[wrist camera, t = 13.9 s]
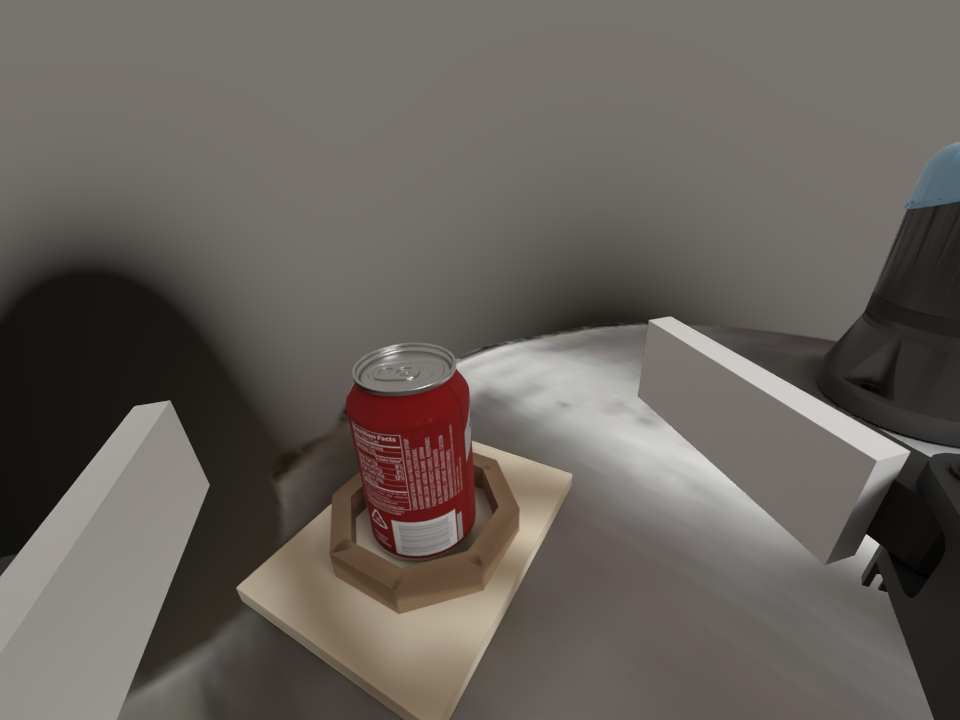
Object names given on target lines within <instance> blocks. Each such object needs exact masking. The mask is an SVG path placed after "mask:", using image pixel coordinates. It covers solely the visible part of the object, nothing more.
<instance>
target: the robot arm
mask: <svg viewBox="0 0 960 720" xmlns="http://www.w3.org/2000/svg"><path fill="white" fill-rule="evenodd" d="M903 208H905V209H907V210H906V213H905V215H904V217H903V220H902V222H901V225H900V227H899V229H898V232H897V234H896V237H895V239H894V241H893V244H892V246H891V249H890V251H889V253H888V256H887V258H886V261H885V263H884V265H883V268H882V270H881V273H880V275H879V278H878V280H877V282H876V285H875V287H874V290H873V293H872V295H871V298H870V300H869V302H868V305H867V307H866V309H865V311H864V313H863V314H862V315H861V316H860V317H859V318H858V319H857V321H856V322H855V323H854V324H853V325H852V326H851V327H850V328H849V329H848V331H847V332H846V333H845V334H844V335H843V336H842V337H841V338H840V339H839V341H838V342H837V343H836V344H835V345H834V346H833V347H832V348H831V349H830V351H829V352H828V353H827V354H826V355H825V357H824V358H823V360H822V363H821V365H820V368H819V371H818V373H817V376H816V382H817V385H818V386H819V388H820V389H821V391H822V392H823V393H824V394H825V395H826V396H827V397H828V398H829V399H831V400H832V401H833V402H835V403H836V404H838V405H839V406H841V407H842V408H844V409H846V410H847V411H849V412H851V413H853V414H855V415H857V416H859V417H861V418H863V419H865V420H867V421H869V422H872V423H874V424H876V425H879V426H882V427H884V428H887V429H890V430H892V431H895V432H898V433H901V434H905V435H908V436H911V437H915V438H918V439H922V440H926V441H930V442H935V443H939V444H944V445H950V446H956V447H960V142H957V143H954V144H951V145H949V146H947V147H945V148H943V149H941V150H940V151H938V152H937V153H936V154H934V155H933V156H932V157H931V158H930V159H929V161H928V162H927V164H926V165H925V167H924V169H923V171H922V174H921V176H920V178H919V180H918V182H917V184H916V186H915V188H914V191H913V193H912V195H911V197H910V199H908V200H907V201H906V202H905V204H904V207H903ZM638 397H639V398H640V399H642V400H643V401H644V402H645V403H646V404H647V405H648V406H649V407H650V408H652V409H653V410H654V411H655V412H656V413H657V414H658V415H659V416H660V417H662V418H663V419H664V420H665V421H666V422H667V423H668V424H669V425H670V426H672V427H673V428H674V429H675V430H676V431H677V432H678V433H679V434H680V435H681V436H683V437H684V438H685V439H686V440H687V441H688V442H689V443H690V444H691V445H693V446H694V447H695V448H696V449H697V450H698V451H699V452H700V453H701V454H703V455H704V456H705V457H706V458H707V459H708V460H709V461H710V462H711V463H713V464H714V465H715V466H716V467H717V468H718V469H719V470H720V471H721V472H723V473H724V474H725V475H726V476H727V477H728V478H729V479H730V480H731V481H733V482H734V483H735V484H736V485H737V486H738V487H739V488H740V489H741V490H742V491H744V492H745V493H746V494H747V495H748V496H749V497H750V498H751V499H752V500H754V501H755V502H756V503H757V504H758V505H759V506H760V507H761V508H762V509H764V510H765V511H766V512H767V513H768V514H769V515H770V516H771V517H772V518H774V519H775V520H776V521H777V522H778V523H779V524H780V525H781V526H782V527H784V528H785V529H786V530H787V531H788V532H789V533H790V534H791V535H792V536H794V537H795V538H796V539H797V540H798V541H799V542H800V543H801V544H802V545H803V546H805V547H806V548H807V549H808V550H809V551H810V552H811V553H812V554H813V555H815V556H816V557H817V558H818V559H819V560H820V561H821V562H822V563H823V564H825V565H826V564H829V563H832V562H835V561H838V560H841V559H844V558H847V557H851V556H854V555H855V553H856V552H857V550H858V548H859V546H860V544H861V542H862V540H863V539H864V537H865V535H866V534H867V535H869V536H870V537H871V538H872V539H874V540H875V541H876V542H878V543H879V544H880V545H879V547H878V549H877V550H876V552H875V554H874V556H873V557H872V559H871V561H870V563H869V564H868V566H867V568H866V570H865V571H864V573H863V575H862V585H864V586H867V587H869V586H870V584H871V582H872V581H873V579H874V577H875V576H876V574H881V576H882V578H883V581H882V582H881V584H880V586H879V588H878V589H879V590H881V591H884V592H888V595H889V598H890V600H891V603H892V606H893V608H894V611H895V614H896V617H897V619H898V622H899V625H900V628H901V630H902V633H903V636H904V638H905V641H906V644H907V647H908V649H909V652H910V655H911V658H912V660H913V663H914V666H915V668H916V671H917V674H918V677H919V679H920V682H921V685H922V688H923V690H924V693H925V696H926V699H927V701H928V704H929V707H930V709H931V712H932V715H933V718H934V720H960V454H952V453H941V454H935V455H933V456H932V457H929V456H927V455H925V454H923V453H921V452H919V451H918V450H916V449H914V448H912V447H910V446H909V445H907V444H905V443H903V442H901V441H900V440H898V439H896V438H894V437H892V436H891V435H889V434H887V433H885V432H883V431H881V430H880V429H878V428H876V427H874V426H872V425H871V424H869V423H867V422H865V421H863V420H862V419H860V418H858V417H856V418H854V417H853V414H851V413H849V412H847V411H845V410H844V409H842V408H840V407H837V408H836V407H835V404H833V403H831V402H829V401H827V400H826V399H824V398H822V397H820V396H818V395H817V394H815V393H813V392H810V391H807V390H804V389H801V388H799V387H796V386H793V385H791V384H790V383H788V382H786V381H784V380H783V379H781V378H779V377H777V376H775V375H774V374H772V373H770V372H768V371H767V370H765V369H763V368H761V367H760V366H758V365H756V364H754V363H752V362H751V361H749V360H747V359H745V358H744V357H742V356H740V355H738V354H736V353H735V352H733V351H731V350H729V349H728V348H726V347H724V346H722V345H720V344H719V343H717V342H715V341H713V340H712V339H710V338H708V337H706V336H704V335H703V334H701V333H699V332H697V331H696V330H694V329H692V328H690V327H688V326H687V325H685V324H683V323H681V322H679V321H678V320H676V319H674V318H672V317H666V318H660V319H654V320H649V323H648V330H647V337H646V344H645V351H644V358H643V364H642V371H641V378H640V385H639V392H638ZM208 488H209V483H208V481H207V478H206V476H205V474H204V472H203V470H202V468H201V466H200V464H199V461H198V459H197V457H196V455H195V453H194V451H193V448H192V446H191V444H190V442H189V440H188V438H187V436H186V434H185V432H184V429H183V427H182V425H181V423H180V421H179V419H178V416H177V414H176V412H175V410H174V408H173V406H172V404H171V402H170V401H164V402H159V403H152V404H147V405H140V406H135V407H134V408H133V409H132V410H131V411H130V413H129V414H128V415H127V417H126V418H125V419H124V420H123V422H122V423H121V424H120V425H119V427H118V428H117V429H116V431H115V432H114V433H113V434H112V436H111V437H110V438H109V439H108V441H107V442H106V443H105V444H104V446H103V447H102V448H101V449H100V451H99V452H98V453H97V455H96V456H95V457H94V458H93V460H92V461H91V462H90V464H89V465H88V466H87V467H86V468H85V470H84V471H83V472H82V474H81V475H80V476H79V477H78V479H77V480H76V482H74V484H73V485H72V486H71V488H70V489H69V490H68V491H67V493H66V494H65V495H64V496H63V498H62V499H61V500H60V502H59V503H58V504H57V505H56V507H55V508H54V509H53V511H52V512H51V513H50V514H49V516H48V517H47V518H46V519H45V521H44V522H43V523H42V524H41V526H40V527H39V528H38V529H37V531H36V532H35V533H34V535H33V536H32V537H31V538H30V540H29V541H28V542H27V544H26V545H25V546H24V547H23V549H22V550H21V551H20V552H19V554H16V555H11V556H7V557H3V558H2V559H0V720H117V718H118V715H119V713H120V710H121V708H122V705H123V703H124V700H125V698H126V695H127V693H128V690H129V688H130V685H131V682H132V680H133V677H134V675H135V672H136V670H137V667H138V665H139V662H140V660H141V657H142V655H143V652H144V650H145V647H146V645H147V642H148V640H149V637H150V635H151V632H152V629H153V627H154V624H155V622H156V619H157V617H158V614H159V612H160V609H161V607H162V604H163V601H164V599H165V597H166V594H167V591H168V589H169V586H170V584H171V581H172V579H173V576H174V573H175V571H176V569H177V566H178V564H179V561H180V559H181V556H182V554H183V551H184V549H185V546H186V543H187V541H188V538H189V536H190V533H191V531H192V528H193V526H194V523H195V521H196V518H197V516H198V513H199V511H200V508H201V505H202V503H203V501H204V498H205V495H206V493H207V490H208Z"/></svg>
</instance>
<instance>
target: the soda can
mask: <svg viewBox="0 0 960 720" xmlns="http://www.w3.org/2000/svg"><path fill="white" fill-rule="evenodd" d="M352 376H353V380H354V384H353V385H352V387H351V389H350V391H349V393H348V396H347V399H346V409H347V414H348V418H349V423H350V428H351V433H352V437H353V442H354V447H355V451H356V456H357V461H358V466H359V470H360V475H361V480H362V484H363V489H364V494H365V499H366V503H367V508H368V513H369V517H370V522H371V527H372V531H373V535H374V538H375V540H376V541H377V543H378V544H379V546H380V547H381V548H382V549H383V550H385V551H386V552H387V553H389V554H390V555H393V556H395V557H397V558H400V559H405V560H412V561H422V560H429V559H433V558H437V557H440V556H442V555H445V554H447V553H449V552H450V551H452V550H454V549H455V548H457V547H458V546H459V545H460V544H461V543H462V542H463V541H464V540H465V539H466V538H467V537H468V535H469V534H470V532H471V530H472V528H473V526H474V523H475V517H476V507H475V489H474V470H473V452H472V434H471V415H470V397H469V387H468V384H467V382H466V380H465V379H464V377H463V376H462V375H461V374H460V373H459V372H458V370H457V369H456V360H455V357H454V355H453V354H452V353H451V352H450V351H448V350H447V349H445V348H442V347H440V346H437V345H433V344H427V343H404V344H396V345H391V346H387V347H383V348H380V349H377V350H375V351H373V352H370V353H369V354H367V355H365V356H364V357H362V358H361V359H360V360H359V361H358V362H357V363H356V364H355V365H354V367H353V370H352Z"/></svg>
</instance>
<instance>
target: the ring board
mask: <svg viewBox="0 0 960 720" xmlns="http://www.w3.org/2000/svg"><path fill="white" fill-rule="evenodd" d="M472 452H473V470H474V489H475V507H476V517H475V523H474V526H473V528H472V530H471V532H470V534H469V535H468V537H467V538H466V539H465V540H464V541H463V542H462V543H461V544H460V545H459V546H458V547H457V548H455V549H454V550H452V551H450V552H449V553H447V554H445V555H442V556H440V557H437V558H433V559H429V560H422V561H412V560H405V559H400V558H397V557H395V556H393V555H390V554H389V553H387V552H386V551H385V550H383V549H382V548H381V547H380V546H379V544H378V543H377V541H376V540H375V538H374V535H373V531H372V527H371V522H370V517H369V513H368V508H367V503H366V499H365V494H364V489H363V484H362V480H361V475H360V471H359V472H358V473H357V474H356V475H355V476H354V477H352V478H351V479H350V480H349V481H348V482H347V483H345V484H344V485H343V486H342V487H341V488H340V489H338V490H337V491H336V492H335V493H334V494H332V504H330V505H329V506H328V507H327V508H326V509H325V510H324V511H323V512H321V513H320V514H319V515H318V516H317V517H316V518H315V519H313V520H312V521H311V522H310V523H309V524H308V525H307V526H305V527H304V528H303V529H302V530H301V531H300V532H299V533H298V534H296V535H295V536H294V537H293V538H292V539H291V540H290V541H288V542H287V543H286V544H285V545H284V546H283V547H282V548H281V549H279V550H278V551H277V552H276V553H275V554H274V555H273V556H271V557H270V558H269V559H268V560H267V561H266V562H265V563H263V564H262V565H261V566H260V567H259V568H258V569H257V570H256V571H254V572H253V573H252V574H251V575H250V576H249V577H248V578H246V579H245V580H244V581H243V582H242V583H241V584H240V585H239V586H237V587H236V589H237V591H238V593H239V596H240V598H241V600H242V601H243V602H244V603H246V604H247V605H248V606H250V607H251V608H252V609H254V610H255V611H256V612H258V613H259V614H261V615H262V616H263V617H265V618H266V619H267V620H269V621H270V622H271V623H273V624H274V625H276V626H277V627H278V628H280V629H281V630H282V631H284V632H285V633H286V634H288V635H289V636H291V637H292V638H293V639H295V640H296V641H297V642H299V643H300V644H301V645H303V646H304V647H306V648H307V649H308V650H310V651H311V652H312V653H314V654H315V655H316V656H318V657H319V658H321V659H322V660H323V661H325V662H326V663H327V664H329V665H330V666H332V667H333V668H334V669H336V670H337V671H338V672H340V673H341V674H342V675H344V676H345V677H347V678H348V679H349V680H351V681H352V682H353V683H355V684H356V685H357V686H359V687H360V688H362V689H363V690H364V691H366V692H367V693H368V694H370V695H371V696H372V697H374V698H375V699H377V700H378V701H379V702H381V703H382V704H383V705H385V706H386V707H387V708H389V709H390V710H392V711H393V712H394V713H396V714H397V715H398V716H400V717H401V718H402V719H404V720H449V719H450V717H451V715H452V714H453V712H454V710H455V708H456V706H457V704H458V702H459V700H460V698H461V696H462V694H463V692H464V691H465V689H466V687H467V685H468V683H469V681H470V679H471V677H472V675H473V673H474V671H475V669H476V668H477V666H478V664H479V662H480V660H481V658H482V656H483V654H484V652H485V650H486V648H487V646H488V645H489V643H490V641H491V639H492V637H493V635H494V633H495V631H496V629H497V627H498V625H499V624H500V622H501V620H502V618H503V616H504V614H505V612H506V610H507V608H508V606H509V604H510V602H511V601H512V599H513V597H514V595H515V593H516V591H517V589H518V587H519V585H520V583H521V581H522V579H523V578H524V576H525V574H526V572H527V570H528V568H529V566H530V564H531V562H532V560H533V558H534V557H535V555H536V553H537V551H538V549H539V547H540V545H541V543H542V541H543V539H544V537H545V535H546V534H547V532H548V530H549V528H550V526H551V524H552V522H553V520H554V518H555V516H556V514H557V512H558V511H559V509H560V507H561V505H562V503H563V501H564V499H565V497H566V495H567V493H568V491H569V490H570V488H571V483H572V474H571V473H568V472H565V471H562V470H559V469H556V468H553V467H550V466H546V465H543V464H540V463H537V462H534V461H531V460H528V459H525V458H522V457H519V456H516V455H513V454H510V453H507V452H504V451H501V450H498V449H495V448H492V447H489V446H486V445H483V444H480V443H477V442H474V441H472Z"/></svg>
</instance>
